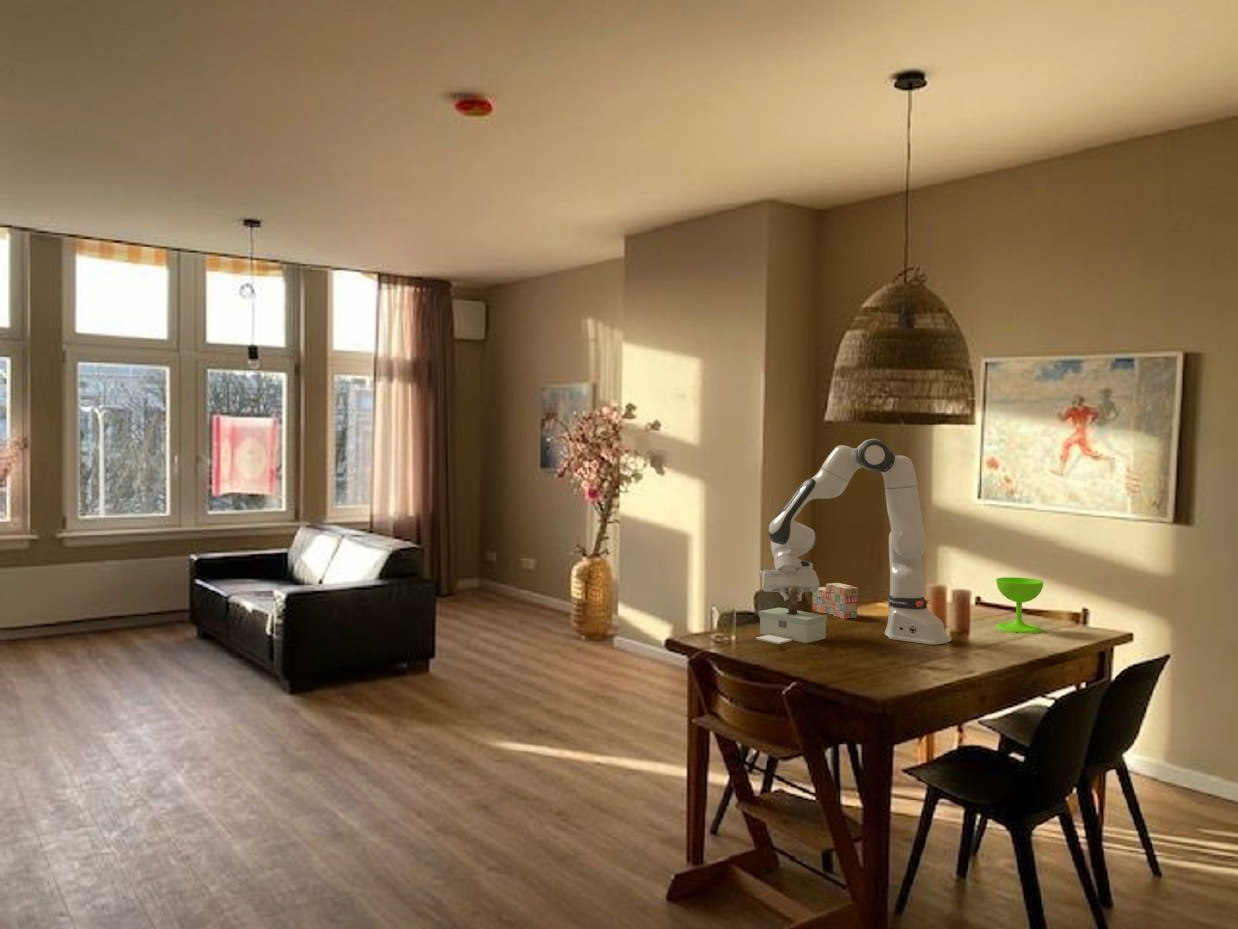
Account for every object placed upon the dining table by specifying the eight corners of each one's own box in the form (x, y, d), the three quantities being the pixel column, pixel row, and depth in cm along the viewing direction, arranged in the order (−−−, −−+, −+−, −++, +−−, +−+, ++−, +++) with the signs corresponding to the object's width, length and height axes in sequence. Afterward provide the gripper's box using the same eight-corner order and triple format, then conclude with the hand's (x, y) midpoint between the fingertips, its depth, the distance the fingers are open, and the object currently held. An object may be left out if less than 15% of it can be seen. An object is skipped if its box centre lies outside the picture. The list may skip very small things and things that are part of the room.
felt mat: (791, 641, 312) (791, 639, 312) (779, 644, 307) (779, 642, 307) (768, 636, 319) (768, 634, 319) (755, 639, 315) (755, 637, 315)
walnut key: (798, 618, 320) (799, 587, 320) (793, 619, 318) (793, 588, 318) (791, 617, 322) (792, 586, 322) (786, 618, 320) (786, 587, 320)
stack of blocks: (811, 610, 371) (812, 580, 371) (824, 609, 374) (824, 579, 374) (844, 619, 352) (844, 588, 352) (857, 618, 354) (857, 587, 354)
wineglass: (1050, 634, 328) (1051, 584, 327) (1005, 633, 328) (1006, 583, 327) (1031, 625, 344) (1032, 577, 343) (988, 624, 344) (989, 577, 343)
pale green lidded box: (826, 638, 317) (826, 615, 317) (806, 643, 309) (806, 619, 309) (778, 629, 332) (779, 607, 332) (758, 633, 324) (758, 611, 324)
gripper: (759, 563, 326) (765, 594, 317) (816, 563, 327) (823, 594, 318) (757, 573, 331) (762, 605, 321) (813, 573, 332) (820, 605, 322)
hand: (793, 600), depth 319 cm, fingers closed on walnut key, 3 cm apart
